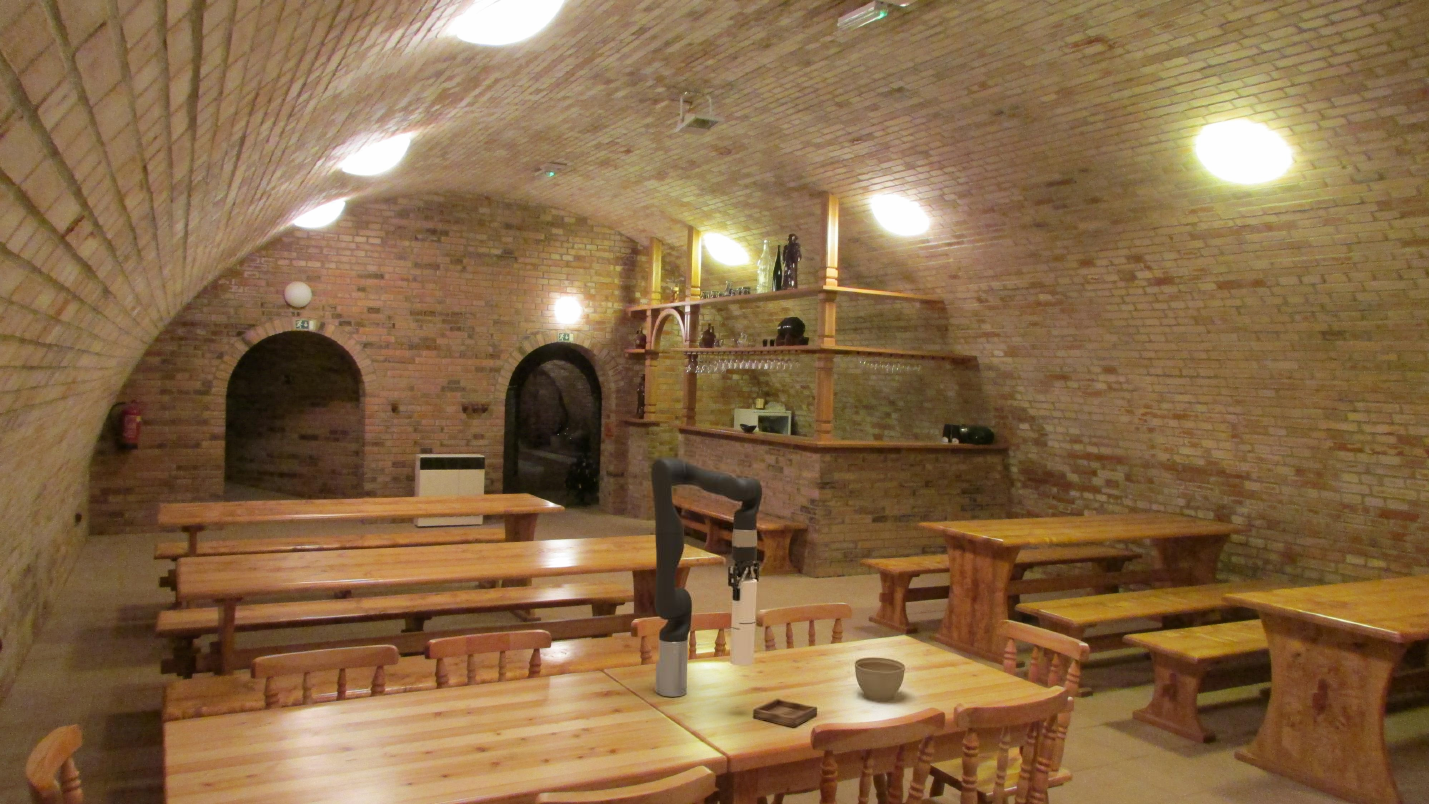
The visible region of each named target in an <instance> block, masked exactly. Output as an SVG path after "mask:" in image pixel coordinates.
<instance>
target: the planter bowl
mask: <svg viewBox="0 0 1429 804" xmlns="http://www.w3.org/2000/svg"><path fill="white" fill-rule="evenodd" d="M854 668H855V669H854V671H855V678H856V680H857V681H856V682H857V684H858V687H859V688H860V690H861V691H862V692H863V697H865V698H866V699H868V700H869V701H870V700H871V701H875V702H890V701H892V700H894V699H895V695H896V694H897V693H898V691H899V690H900V688H901V687H902V684H903V681H904V676H905V671H906V665H905V664H904V663H903V662H901V661H898V660H895V659H892V658H886V657H876V656H872V657H862V658H861V657H860V658H858V659H856V660H855V661H854Z"/></svg>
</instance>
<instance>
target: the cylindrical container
mask: <svg viewBox="0 0 1429 804" xmlns="http://www.w3.org/2000/svg"><path fill="white" fill-rule="evenodd" d="M737 584H738V581H737ZM757 587H758V582H757V580H756V579H748V578H744V581H743V582H741V586H740V600H739V601H734V600H733V599H732V602H731V604H732V606H731V625H730V626H731V628H730V647H729V648H730V652H729V653H730V655H729V663H730V664H732V665H733V666H738V667H740V666H741V667H749V666H752V665H754V660H755V657H754V656H755V635H756V612H757V590H758V589H757Z"/></svg>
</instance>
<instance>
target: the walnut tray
mask: <svg viewBox="0 0 1429 804" xmlns="http://www.w3.org/2000/svg"><path fill="white" fill-rule="evenodd" d="M816 715H817V716H818V707H817V706H813V705H808V704H804V703H799V702H794V701H791V700H790V701H789V700H785V699H780V698H776V699H774V700H771V701H769V702H767V703H765V704H763V705H760V706H759V707H756V708H754V709H753V711H752V718H753V719H757V720H759V719H760V720H761V721H764V720H766V721H765V722H768V721H769V723H774V724H778V725H782V726H786V727H791V728H796V727H798V726H799V725H802V724H803V722H804V723H805V721H806V722H807V720H808V721H810V720H811V719H813V718H814V717H813V716H815V717H817V716H816ZM812 717H813V718H812ZM809 719H810V720H809ZM801 723H802V724H801Z"/></svg>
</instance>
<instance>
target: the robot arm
mask: <svg viewBox="0 0 1429 804" xmlns="http://www.w3.org/2000/svg"><path fill="white" fill-rule="evenodd" d="M650 478H651V479H650V480H651V481H650V482H651V486H652V487H651V489H652V495H653V496H652V497H653V505H654V519H655V520H654V521H655V522H654V523H655V529H654V530H655V531H654V533H655V555H656V556H655V557H656V560H655V563H656V565H655V566H656V568H655V569H656V572H655V574H656V575H655V591H654V607H655V612H656V614H657V615H658V617H659V618H660V619H661V620H664V621H666V623H665V625H664V626H662V627H661V629H660V630H659V633H658V638H659V639H658V661H657V662H655V683H654V684H655V686H654V687H655V689H654V690H655V693H657V694H658V695H660V696H662V697H671V698H673V697H675V698H676V697H682V696H685V695H686V694H687V693H688V691H687V688H688V652H689V651H688V647H689V646H688V645H689V644H688V643H689V633H690V631H691V626H692V625H691V624H692V613H693V602H692V597H691V593H690V592H689V591H688V590H687V589H686V588H683V587H676V575H677V569H678V567H679V565H680V561H681V560H682V557H683V555H684V554H683V553H684V549H685V527H684V524H683V521H682V519H681V517H680V515H679V513H678V512H677V510H676V507H675V505H674V502H673V495H672V487H675V486H676V487H677V486H694V487H696V488H699V489H701V490H702V491H704V492H707V493H710V494H712V495H717V496H723V497H724V498H726V499H729V500H731V501H734V502H740V503H741V505H740V507H739V508H738V509H736V510H735V511H734V512H733V530H732V536H731V538H732V539H731V559H732V560H733V561H734V566H733V565H730V566H728V567H727V568H728V570H727V586H728V587H731V589H732V600H734V601H739V600H740V586H741V582H743V581H744V578H748V579H756V580H757V583H758V582H759V578H760V562H759V561H756V560H757V557H758V556H757V554H758V534H757V531H758V530H757V526H758V525H757V524H758V521H757V520H758V518H757V516H758V514H759V513H758V512H759V509H760V506H761V503H762V498H763V487H762V484H761V482H760V480H758V478H755V477H742V478H740V477H734V475H731V474H729V473H725V472H723V471H722V472H721V471H717V470H712V469H707V468H703V467H700V466H696V465H694V464H692V463H690V462H688V461H686V460H683V459H681V458H679V457H660V458H656V459H655V460H654V461H653V463H652V465H651V470H650ZM737 581H738V584H737Z"/></svg>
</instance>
